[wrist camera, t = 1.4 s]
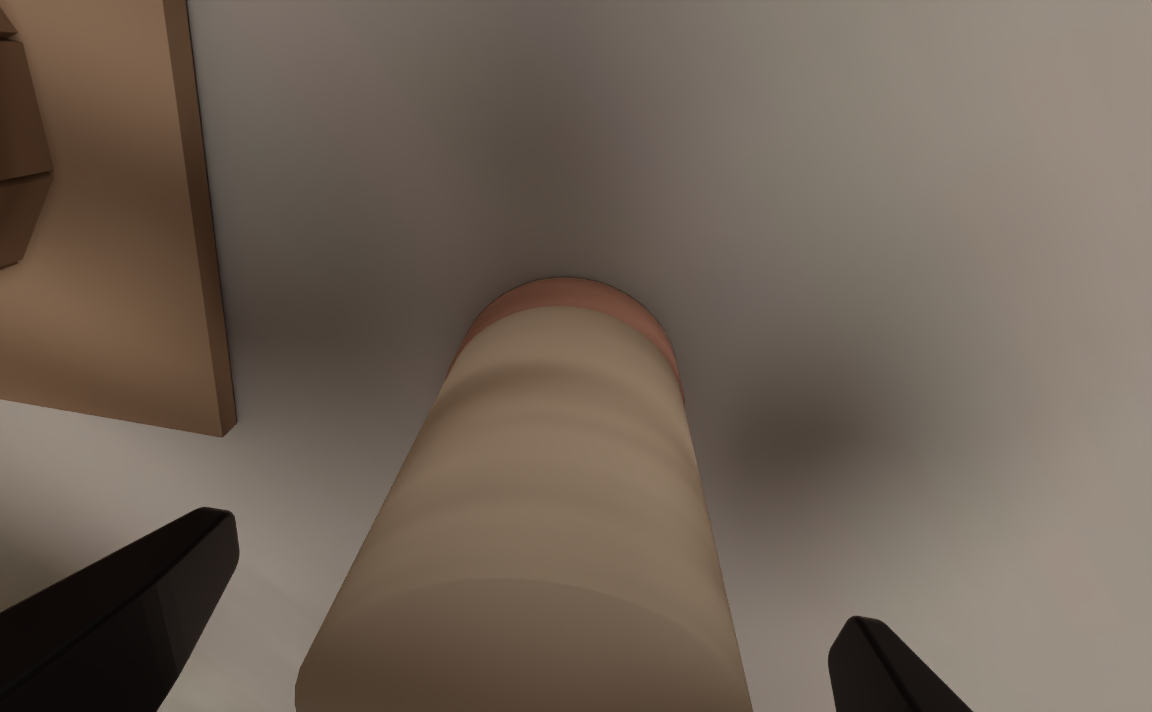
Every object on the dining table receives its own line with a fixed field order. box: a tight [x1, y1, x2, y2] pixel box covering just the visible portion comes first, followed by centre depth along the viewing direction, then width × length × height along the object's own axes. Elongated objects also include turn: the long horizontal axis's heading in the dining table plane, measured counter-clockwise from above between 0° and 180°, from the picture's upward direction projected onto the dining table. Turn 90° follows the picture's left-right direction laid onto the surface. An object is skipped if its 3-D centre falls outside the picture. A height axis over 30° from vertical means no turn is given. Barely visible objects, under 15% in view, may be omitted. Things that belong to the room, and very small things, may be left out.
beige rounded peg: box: [295, 278, 753, 712], centre depth 10 cm, size 5×5×8 cm
